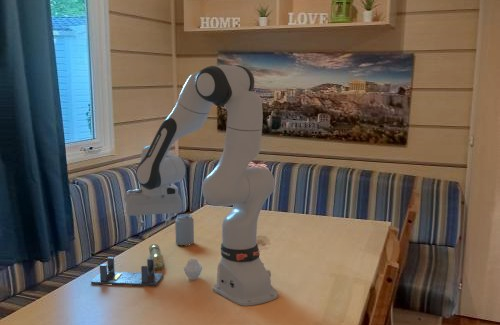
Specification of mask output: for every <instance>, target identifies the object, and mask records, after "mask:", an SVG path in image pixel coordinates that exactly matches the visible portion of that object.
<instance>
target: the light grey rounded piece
mask: <svg viewBox="0 0 500 325" xmlns="http://www.w3.org/2000/svg"><path fill="white" fill-rule="evenodd" d="M183 270H184V271H183V272H184V274H185V275H186V277H187V279H188V280H189V281H196V280H197V279H199V277H200V275H201V273H202V270H203V266H202V265H201V264H200V262H199V260H198V259H196V258H191V259H188V260H187V263H186V264H185V266H184V268H183Z"/></svg>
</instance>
